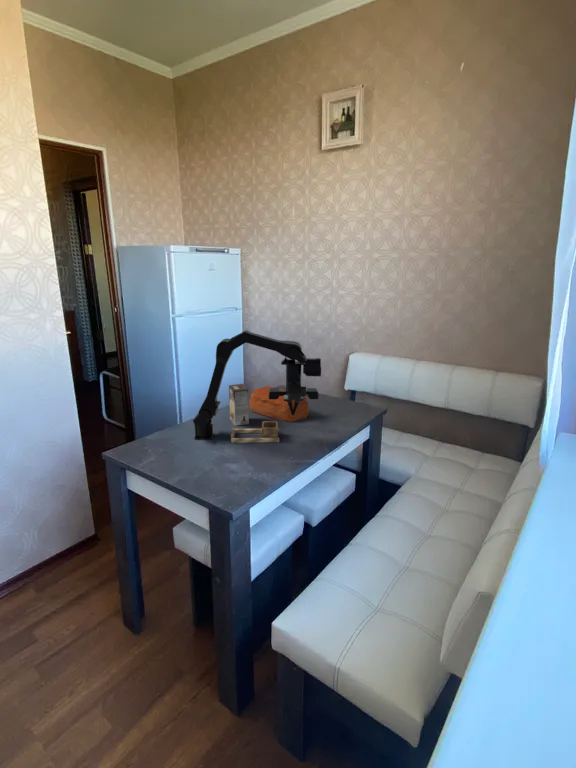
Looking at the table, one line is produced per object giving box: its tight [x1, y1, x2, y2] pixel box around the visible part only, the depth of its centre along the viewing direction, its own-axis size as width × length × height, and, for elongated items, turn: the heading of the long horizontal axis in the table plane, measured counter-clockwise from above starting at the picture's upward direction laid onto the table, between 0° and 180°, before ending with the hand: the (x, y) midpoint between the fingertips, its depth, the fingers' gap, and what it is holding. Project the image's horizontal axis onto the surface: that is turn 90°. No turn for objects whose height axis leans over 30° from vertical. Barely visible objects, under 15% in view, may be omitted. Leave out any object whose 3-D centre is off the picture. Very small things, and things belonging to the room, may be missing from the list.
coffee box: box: [228, 383, 250, 427], centre depth 179 cm, size 9×6×16 cm
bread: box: [248, 385, 310, 423], centre depth 191 cm, size 16×27×11 cm, turn 49°
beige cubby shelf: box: [230, 427, 280, 444], centre depth 164 cm, size 20×12×3 cm, turn 93°
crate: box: [261, 420, 279, 438], centre depth 164 cm, size 6×7×5 cm
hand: (292, 414), depth 163 cm, fingers closed
